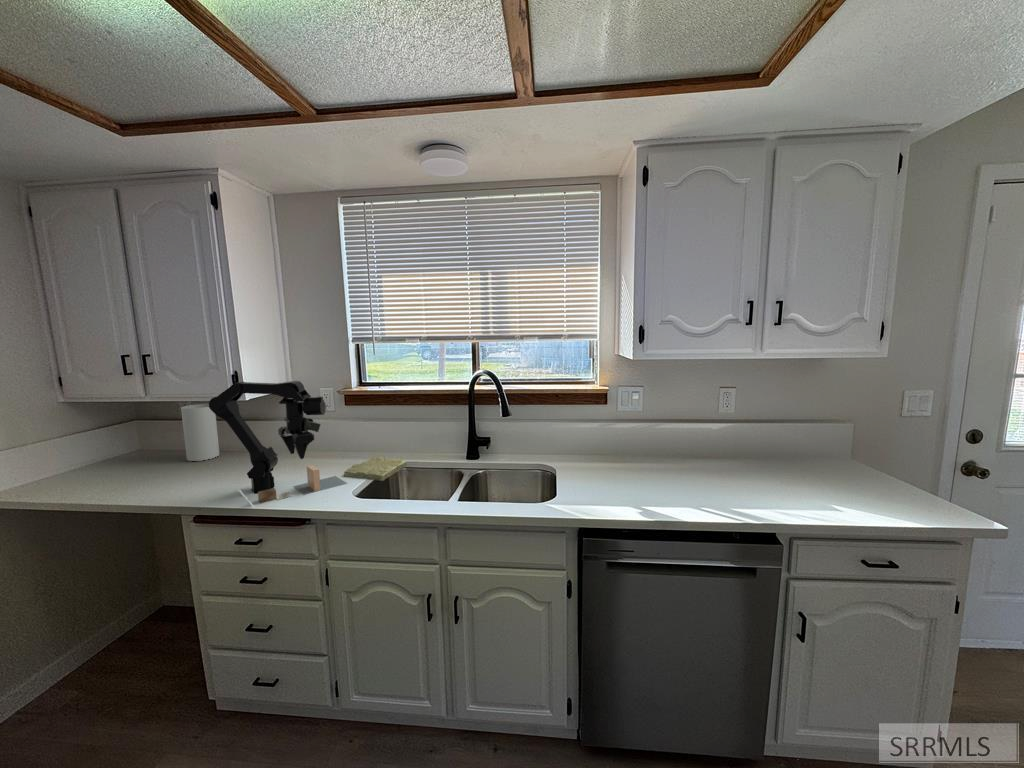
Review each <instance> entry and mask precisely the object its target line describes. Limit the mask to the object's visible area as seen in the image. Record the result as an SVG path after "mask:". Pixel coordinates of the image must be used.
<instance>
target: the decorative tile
mask: <svg viewBox="0 0 1024 768" xmlns="http://www.w3.org/2000/svg"><path fill="white" fill-rule="evenodd" d="M407 465H408V463H407V460H405V459H398V458H390V457H389V458H388V457H379V456H378V457H372V458H370V459H368V460H366V461H362V462H361V463H357V464H352V466H351V467H349V468H347V470H345V471H343V473H344V474H343V477H344V478H345V477H347V478H355V479H356V478H357V479H367V480H368V479H369V480H374V481H375V482H376V481H377V482H383V481H385V480H386V479H388V478H389V477H392V476H393V475H394V474H396V473H397V472H400V471H401V470H402V469H404V468H406V467H407Z"/></svg>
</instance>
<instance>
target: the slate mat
mask: <svg viewBox="0 0 1024 768" xmlns="http://www.w3.org/2000/svg"><path fill="white" fill-rule="evenodd" d="M346 484H348V482H346V481H345V480H343V479H341V478H340V477H338V476H336V475H335V476H330V477H326V478H321V479H320V490H319V491H313V490H312V489H311V488H309V487H308V482H305V483H301V484H297V485H293V486H292V487H293V488H294V489H295V490H297V491H298V492H299V493H301V494H302V495H303V496H305V495H309V494H314V493H317V492H321V491H323V490H329V489H331V488H336V487H339V486H343V485H346Z"/></svg>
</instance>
